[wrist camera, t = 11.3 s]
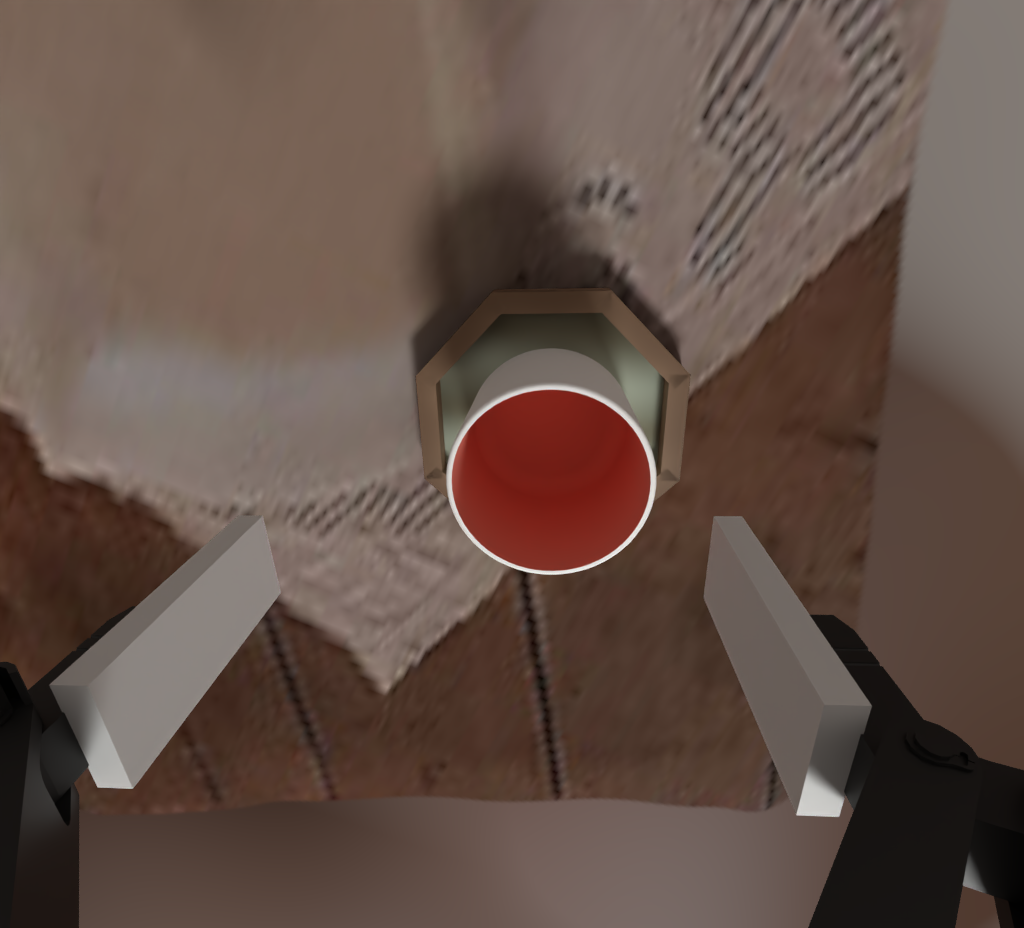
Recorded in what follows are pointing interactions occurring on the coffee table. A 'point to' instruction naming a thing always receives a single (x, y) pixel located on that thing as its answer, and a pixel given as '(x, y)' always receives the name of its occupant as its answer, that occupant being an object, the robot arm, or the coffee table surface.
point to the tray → (562, 325)
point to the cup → (551, 465)
